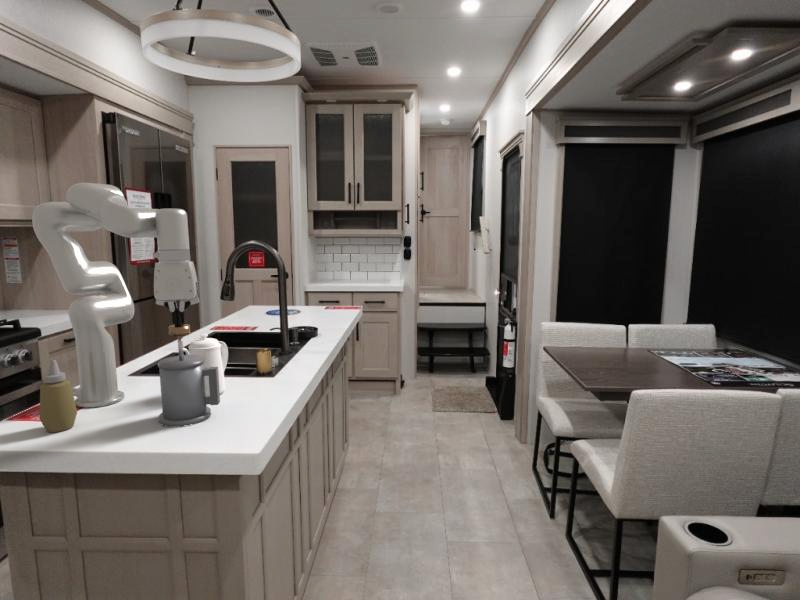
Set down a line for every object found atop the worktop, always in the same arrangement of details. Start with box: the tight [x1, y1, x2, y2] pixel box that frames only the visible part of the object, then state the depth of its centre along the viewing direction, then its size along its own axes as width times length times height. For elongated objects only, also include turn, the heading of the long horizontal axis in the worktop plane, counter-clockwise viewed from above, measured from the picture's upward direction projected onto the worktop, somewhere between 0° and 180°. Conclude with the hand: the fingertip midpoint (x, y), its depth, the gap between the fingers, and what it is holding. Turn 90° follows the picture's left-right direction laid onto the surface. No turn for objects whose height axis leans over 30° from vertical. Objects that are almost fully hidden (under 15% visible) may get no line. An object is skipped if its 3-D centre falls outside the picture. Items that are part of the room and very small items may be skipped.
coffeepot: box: [176, 333, 229, 396], centre depth 154 cm, size 11×25×19 cm, turn 168°
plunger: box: [168, 323, 191, 360], centre depth 133 cm, size 5×5×9 cm
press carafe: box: [157, 354, 221, 427], centre depth 135 cm, size 16×13×16 cm
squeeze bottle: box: [39, 359, 78, 433], centre depth 128 cm, size 8×8×18 cm
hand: (179, 325), depth 132 cm, fingers closed
